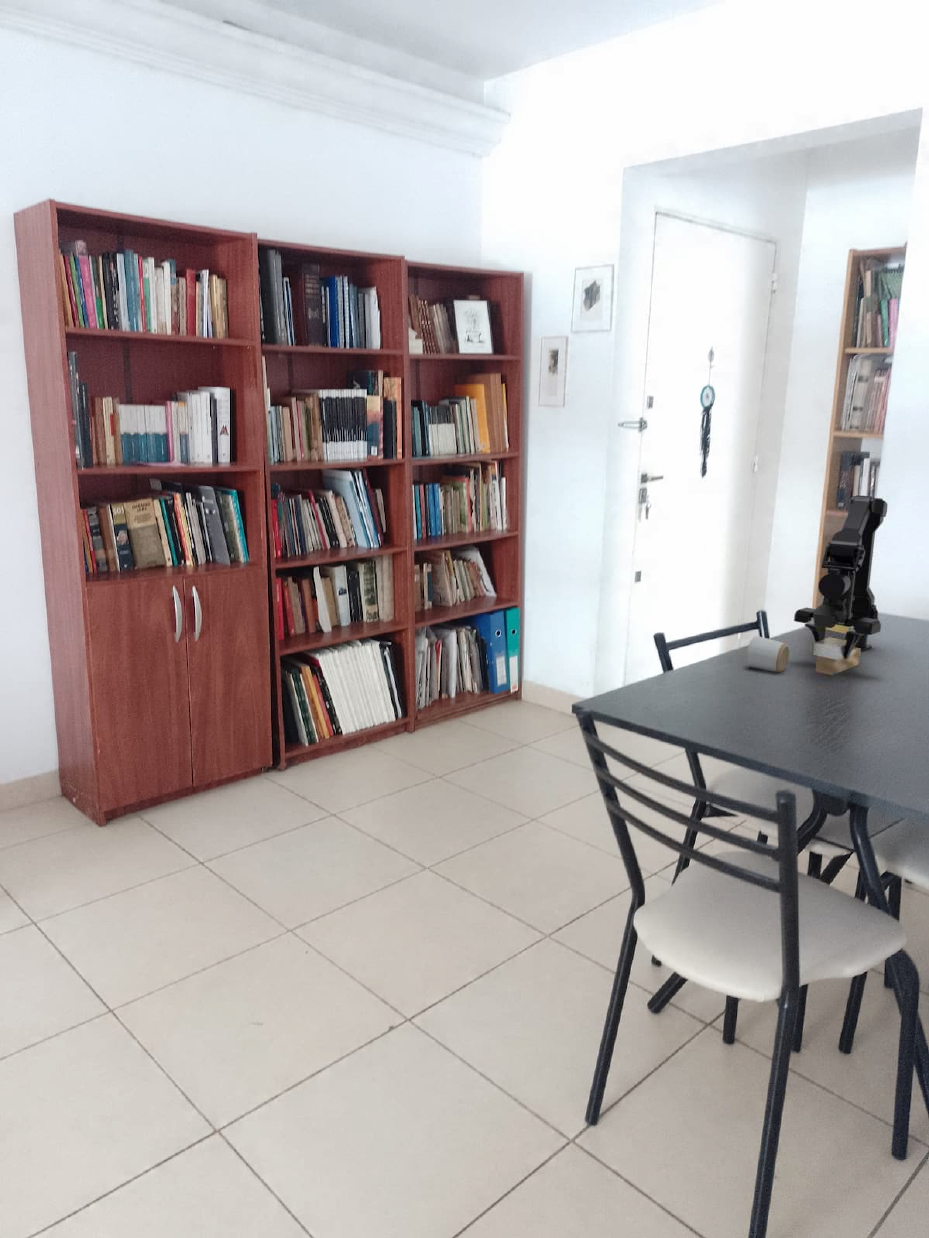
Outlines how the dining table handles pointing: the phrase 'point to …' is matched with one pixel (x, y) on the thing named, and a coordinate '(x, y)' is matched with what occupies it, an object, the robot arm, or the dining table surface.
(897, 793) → the dining table surface
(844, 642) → the frosted white brick
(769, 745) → the dining table surface
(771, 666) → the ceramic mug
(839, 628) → the lever
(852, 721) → the dining table surface
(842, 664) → the tan block
